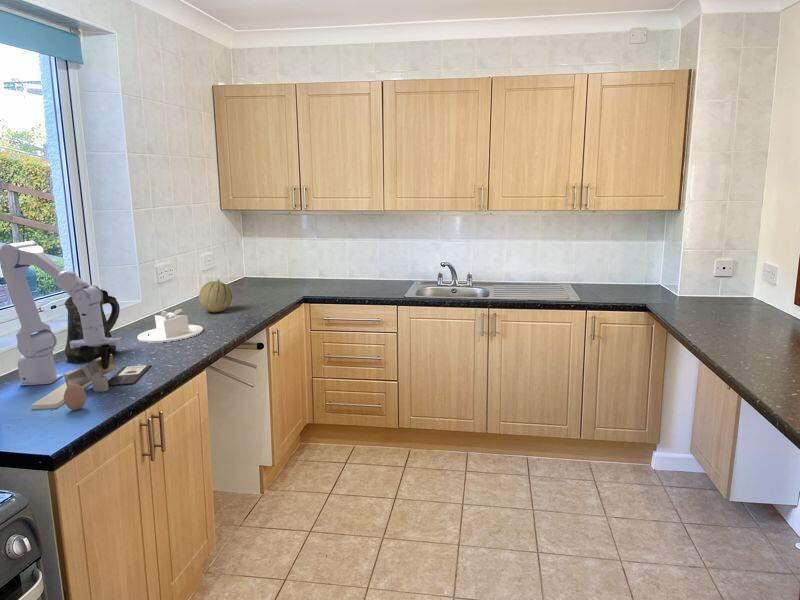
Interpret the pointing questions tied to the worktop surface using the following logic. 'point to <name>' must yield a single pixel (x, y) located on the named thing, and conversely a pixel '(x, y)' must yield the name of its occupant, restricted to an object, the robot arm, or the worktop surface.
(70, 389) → the egg
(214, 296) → the cantaloupe
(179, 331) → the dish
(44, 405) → the flat cream panel
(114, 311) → the beer stein
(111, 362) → the tall tan wooden post
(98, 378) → the lighter
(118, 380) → the chocolate bar
